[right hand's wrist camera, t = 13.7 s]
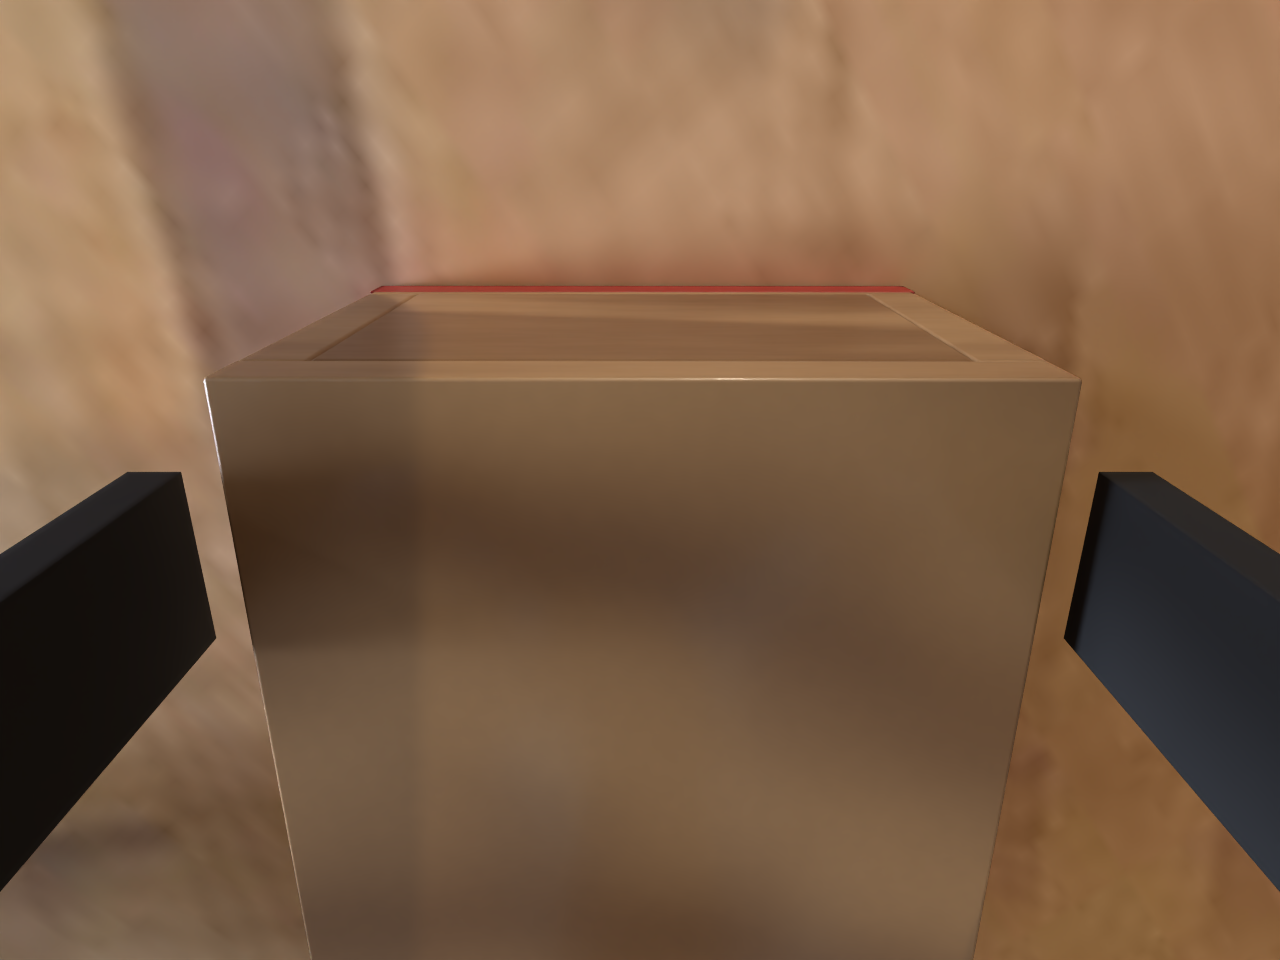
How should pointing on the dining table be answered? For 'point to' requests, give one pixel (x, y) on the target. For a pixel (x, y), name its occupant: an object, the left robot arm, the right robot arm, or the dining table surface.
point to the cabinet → (642, 615)
